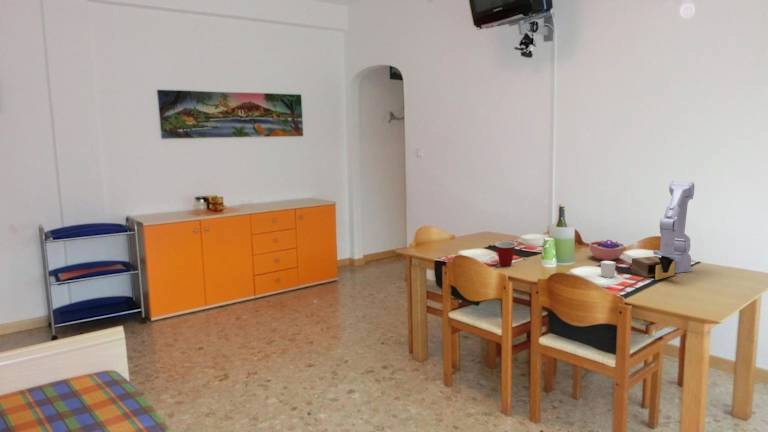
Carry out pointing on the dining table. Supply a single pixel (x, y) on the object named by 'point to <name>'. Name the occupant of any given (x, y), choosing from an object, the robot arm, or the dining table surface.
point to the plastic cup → (505, 252)
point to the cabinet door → (660, 274)
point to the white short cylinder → (608, 268)
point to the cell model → (606, 250)
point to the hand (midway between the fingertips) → (665, 272)
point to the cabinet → (645, 266)
